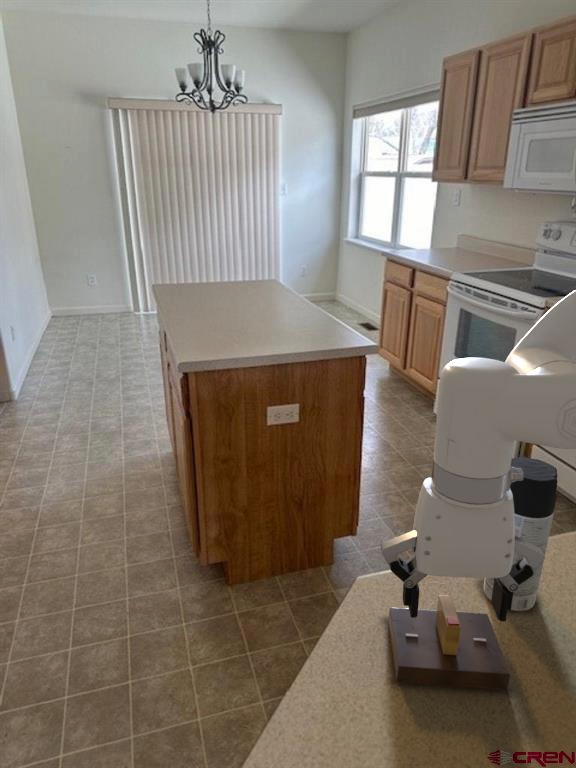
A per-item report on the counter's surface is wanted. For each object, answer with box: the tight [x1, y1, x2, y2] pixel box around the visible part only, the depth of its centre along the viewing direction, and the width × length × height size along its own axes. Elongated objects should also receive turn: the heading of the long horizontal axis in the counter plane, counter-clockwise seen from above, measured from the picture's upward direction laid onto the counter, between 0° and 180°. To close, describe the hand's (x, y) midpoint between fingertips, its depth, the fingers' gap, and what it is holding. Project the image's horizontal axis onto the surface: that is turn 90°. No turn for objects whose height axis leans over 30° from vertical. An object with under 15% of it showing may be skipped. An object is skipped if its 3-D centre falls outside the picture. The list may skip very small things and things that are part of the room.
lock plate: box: [387, 607, 511, 690], centre depth 63 cm, size 12×9×3 cm
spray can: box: [483, 456, 559, 612], centre depth 69 cm, size 7×7×20 cm
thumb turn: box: [435, 594, 461, 655], centre depth 61 cm, size 5×2×4 cm, turn 176°
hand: (454, 610), depth 61 cm, fingers open, 9 cm apart
